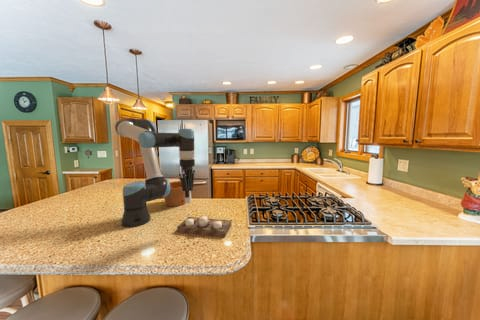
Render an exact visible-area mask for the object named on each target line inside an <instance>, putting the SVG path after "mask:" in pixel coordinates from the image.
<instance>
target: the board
mask: <svg viewBox="0 0 480 320" xmlns="http://www.w3.org/2000/svg"><path fill="white" fill-rule="evenodd" d="M190 218H191V219H194V225H193V226H192V227H189V226H185V220H186V219H190ZM186 219H184V220H183V221H182V222H181V223H180V224H178V226H177V225H176V228H177V233H182V234H183V233H184V234H191V235H201V236H210V237H211V236H212V237H219V238H221V237H222V238H225V237H226V236H227V234H228V233H229V231H230V229H231V227H232V220H230V219H221V218H220V219H219V218H210V217H209V218H208V217H207V220H208V225H207V226H206V227H200V226H199V217H196V216H188V217H187V218H186ZM215 221H221V222H222V229H221V230H220V229H214V226H213V223H214V222H215Z"/></svg>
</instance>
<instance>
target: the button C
mask: <svg viewBox="0 0 480 320" xmlns="http://www.w3.org/2000/svg"><path fill="white" fill-rule="evenodd" d="M213 226H214V229H220V230H221V229H222V222H221V221H215V222H214V223H213Z"/></svg>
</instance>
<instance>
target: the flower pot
mask: <svg viewBox="0 0 480 320" xmlns="http://www.w3.org/2000/svg"><path fill="white" fill-rule="evenodd" d="M169 183H170V192H169V194H168V195H167V196H166V197H163V198H164V201H165V204H166V206H167V207H179V206H183V205H185V204H186V203H185V191H183V190H182V184H181V180H180V181H169Z"/></svg>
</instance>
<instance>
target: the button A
mask: <svg viewBox="0 0 480 320" xmlns="http://www.w3.org/2000/svg"><path fill="white" fill-rule="evenodd" d="M184 220H185V226H189V227H192V226H193V225H194V219H191V218H190V219H187V218H185V219H184Z"/></svg>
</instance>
